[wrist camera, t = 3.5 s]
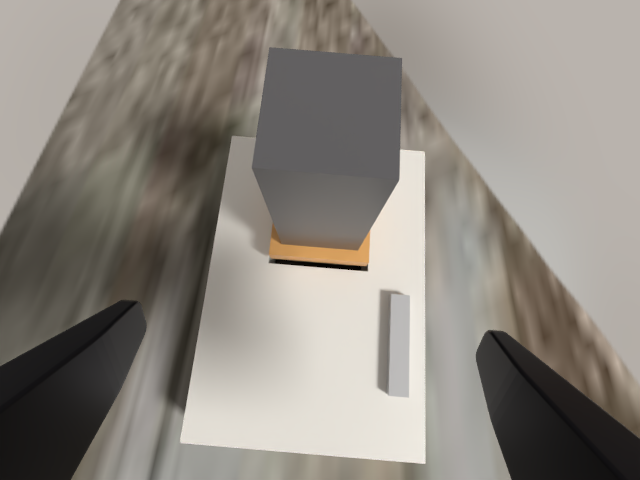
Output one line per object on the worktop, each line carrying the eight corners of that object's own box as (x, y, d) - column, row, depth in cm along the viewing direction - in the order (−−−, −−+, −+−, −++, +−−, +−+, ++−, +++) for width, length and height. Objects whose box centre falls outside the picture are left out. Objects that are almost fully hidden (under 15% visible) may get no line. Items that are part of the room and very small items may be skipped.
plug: (357, 275, 21) (421, 202, 9) (277, 269, 21) (226, 186, 9) (361, 201, 23) (421, 43, 10) (286, 195, 23) (252, 29, 10)
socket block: (408, 442, 19) (429, 468, 15) (200, 424, 19) (174, 447, 15) (410, 173, 23) (427, 146, 20) (242, 159, 23) (229, 130, 20)
